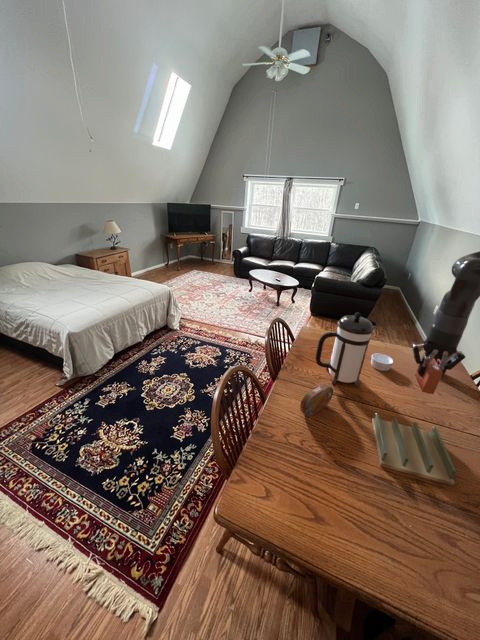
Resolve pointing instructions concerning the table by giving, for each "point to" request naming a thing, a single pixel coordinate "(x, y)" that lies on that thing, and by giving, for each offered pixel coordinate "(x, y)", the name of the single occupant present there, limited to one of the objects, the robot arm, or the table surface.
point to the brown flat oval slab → (316, 399)
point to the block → (429, 377)
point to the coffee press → (347, 348)
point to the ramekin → (381, 362)
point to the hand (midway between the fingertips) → (427, 376)
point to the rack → (413, 450)
